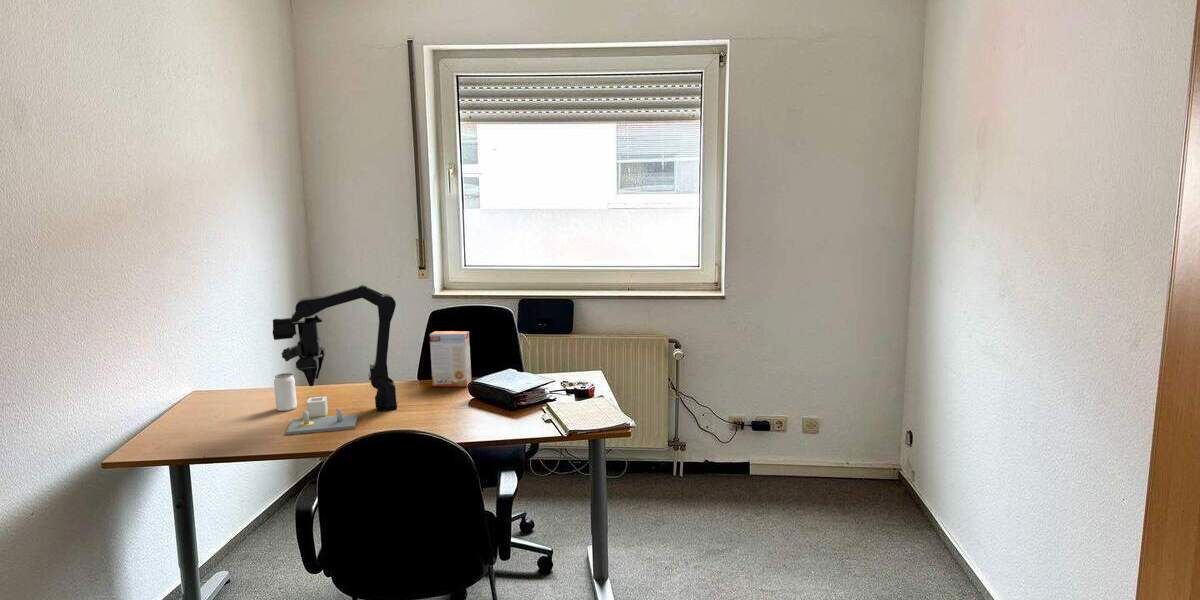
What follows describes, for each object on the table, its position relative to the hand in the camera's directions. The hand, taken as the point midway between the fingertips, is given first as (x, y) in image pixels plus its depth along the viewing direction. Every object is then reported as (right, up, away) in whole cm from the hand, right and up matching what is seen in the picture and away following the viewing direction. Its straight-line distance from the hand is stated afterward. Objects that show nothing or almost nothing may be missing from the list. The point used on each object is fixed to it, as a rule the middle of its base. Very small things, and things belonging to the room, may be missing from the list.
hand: (313, 382), depth 222 cm
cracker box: (+38, -6, +37) cm, 54 cm away
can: (-14, -11, +11) cm, 21 cm away
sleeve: (+1, -12, +1) cm, 12 cm away
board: (+6, -13, -7) cm, 16 cm away
